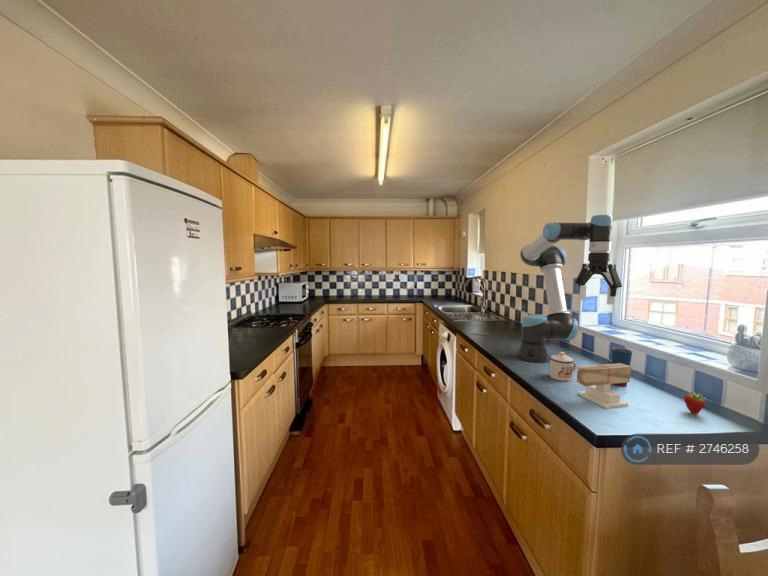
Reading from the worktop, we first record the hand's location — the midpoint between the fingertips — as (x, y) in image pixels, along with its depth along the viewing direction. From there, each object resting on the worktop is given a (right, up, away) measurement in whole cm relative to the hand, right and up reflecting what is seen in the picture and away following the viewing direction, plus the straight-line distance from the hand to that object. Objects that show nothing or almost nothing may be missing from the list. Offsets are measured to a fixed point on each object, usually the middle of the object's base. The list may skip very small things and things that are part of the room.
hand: (595, 302), depth 133 cm
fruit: (+16, -38, -26) cm, 48 cm away
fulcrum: (-8, -36, -16) cm, 40 cm away
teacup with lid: (-10, -34, +6) cm, 36 cm away
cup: (+10, -35, -1) cm, 37 cm away
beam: (-9, -29, -17) cm, 35 cm away
